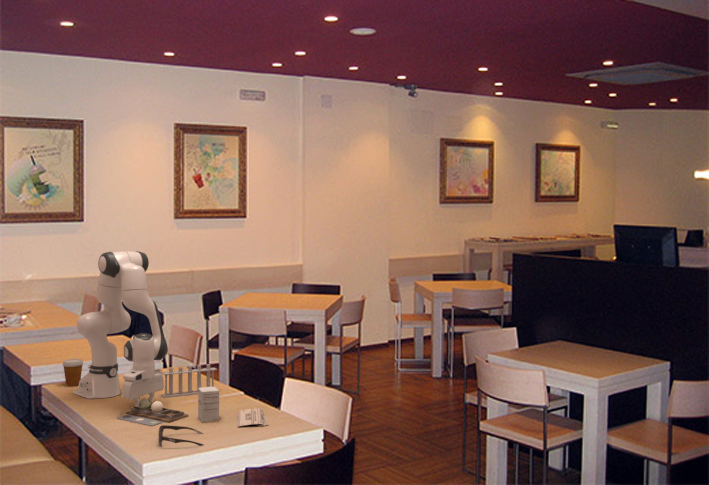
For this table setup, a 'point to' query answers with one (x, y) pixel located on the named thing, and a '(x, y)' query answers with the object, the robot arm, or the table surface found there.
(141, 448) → the table surface
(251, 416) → the newspaper
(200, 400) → the supplement box
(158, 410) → the cream ball
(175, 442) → the sunglasses
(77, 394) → the robot arm
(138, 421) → the pattern card
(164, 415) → the socket board
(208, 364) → the test tube rack
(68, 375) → the disposable coffee cup
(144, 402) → the sage ball
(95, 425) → the table surface
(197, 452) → the table surface
